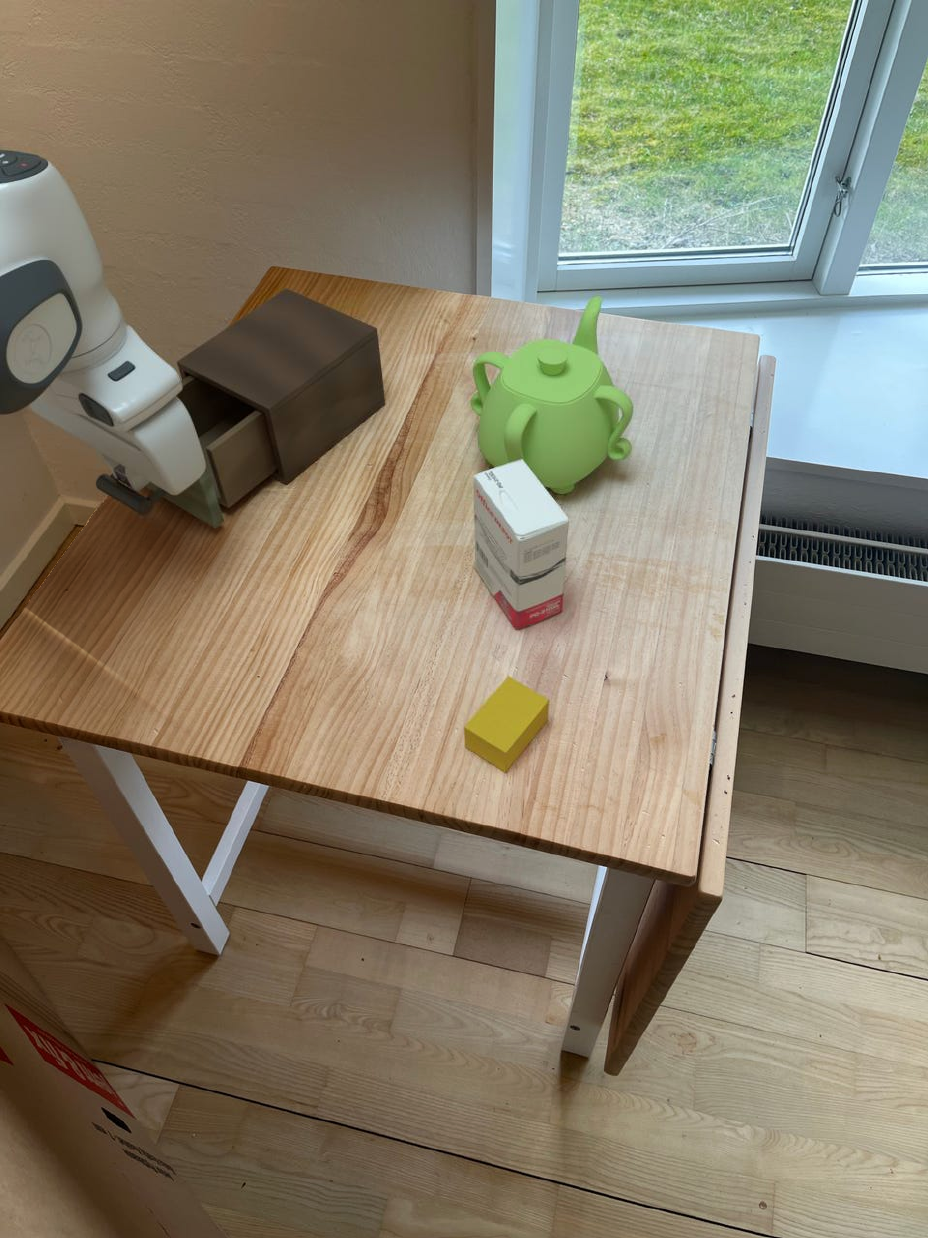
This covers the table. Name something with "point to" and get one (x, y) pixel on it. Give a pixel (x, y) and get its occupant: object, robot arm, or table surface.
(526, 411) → the teapot
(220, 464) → the drawer
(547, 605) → the ink box
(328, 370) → the cabinet
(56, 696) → the table surface
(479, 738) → the sponge
